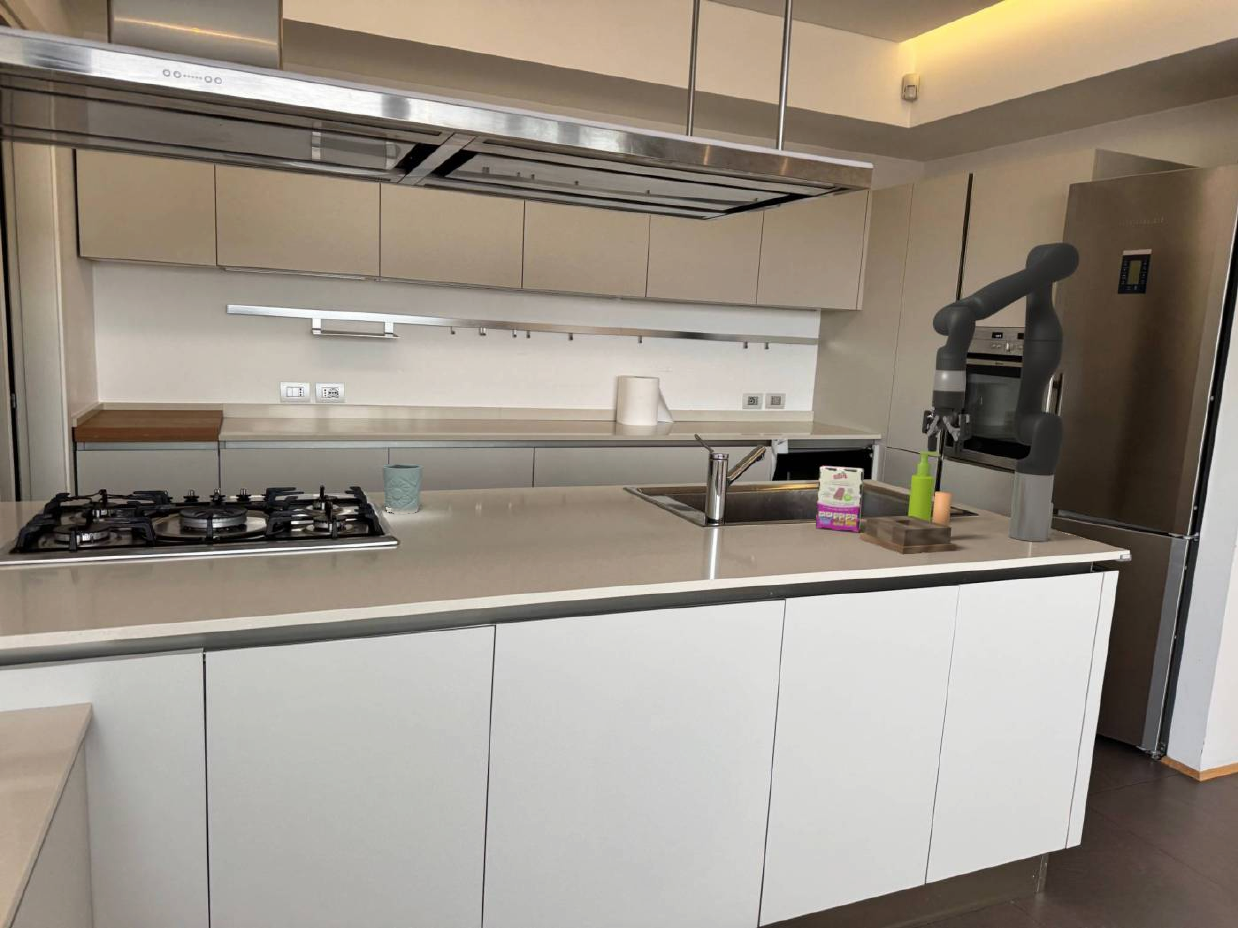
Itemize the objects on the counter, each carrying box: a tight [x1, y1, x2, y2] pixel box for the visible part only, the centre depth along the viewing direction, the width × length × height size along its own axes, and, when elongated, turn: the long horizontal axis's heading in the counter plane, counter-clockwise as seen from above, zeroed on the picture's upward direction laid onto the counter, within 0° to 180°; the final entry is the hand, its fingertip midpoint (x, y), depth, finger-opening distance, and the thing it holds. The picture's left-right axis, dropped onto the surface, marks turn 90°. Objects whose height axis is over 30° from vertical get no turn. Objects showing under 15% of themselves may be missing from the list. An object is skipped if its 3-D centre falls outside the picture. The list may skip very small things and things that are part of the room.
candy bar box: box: [815, 465, 865, 533], centre depth 231 cm, size 11×5×16 cm, turn 71°
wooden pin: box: [931, 491, 953, 527], centre depth 224 cm, size 4×4×12 cm
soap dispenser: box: [907, 451, 941, 521], centre depth 244 cm, size 6×7×20 cm
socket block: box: [859, 515, 957, 555], centre depth 217 cm, size 16×16×6 cm
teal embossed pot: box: [382, 463, 423, 510], centre depth 230 cm, size 10×10×12 cm
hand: (944, 453), depth 221 cm, fingers open, 8 cm apart
